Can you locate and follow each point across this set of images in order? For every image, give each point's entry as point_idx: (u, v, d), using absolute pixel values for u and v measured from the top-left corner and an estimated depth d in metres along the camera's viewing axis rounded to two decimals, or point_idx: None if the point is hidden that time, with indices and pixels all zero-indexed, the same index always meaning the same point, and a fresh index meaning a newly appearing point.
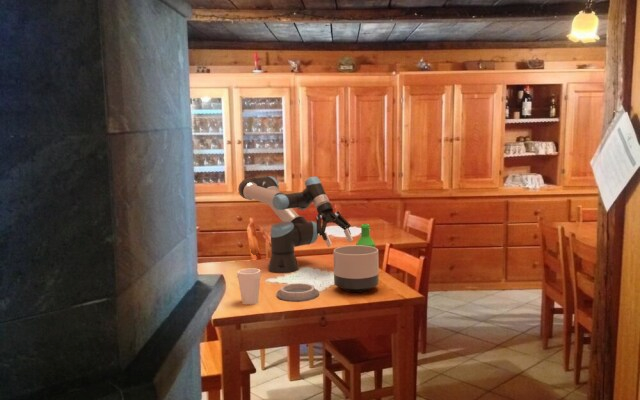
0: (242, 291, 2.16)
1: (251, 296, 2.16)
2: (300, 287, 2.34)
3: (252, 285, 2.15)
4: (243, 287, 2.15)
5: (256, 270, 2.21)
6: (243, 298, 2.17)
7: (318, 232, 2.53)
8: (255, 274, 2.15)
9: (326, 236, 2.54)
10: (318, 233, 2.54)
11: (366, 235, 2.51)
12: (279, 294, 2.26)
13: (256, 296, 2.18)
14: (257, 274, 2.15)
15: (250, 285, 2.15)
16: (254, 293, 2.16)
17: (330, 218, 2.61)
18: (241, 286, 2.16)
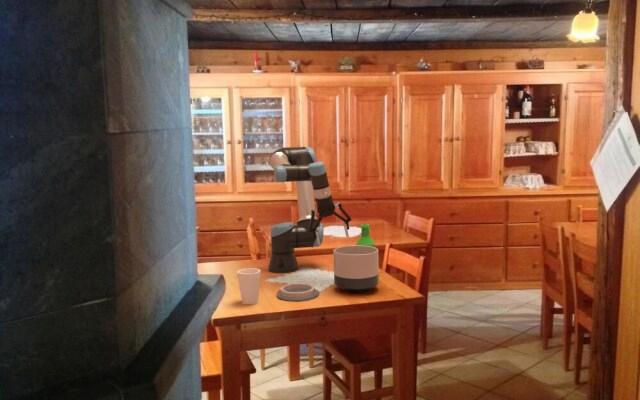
0: (242, 291, 2.16)
1: (251, 296, 2.16)
2: (300, 287, 2.34)
3: (252, 285, 2.15)
4: (243, 287, 2.15)
5: (256, 270, 2.21)
6: (243, 298, 2.17)
7: (308, 231, 2.42)
8: (255, 274, 2.15)
9: (316, 235, 2.43)
10: (309, 231, 2.43)
11: (366, 235, 2.51)
12: (279, 294, 2.26)
13: (256, 296, 2.18)
14: (257, 274, 2.15)
15: (250, 285, 2.15)
16: (254, 293, 2.16)
17: (327, 213, 2.41)
18: (241, 286, 2.16)
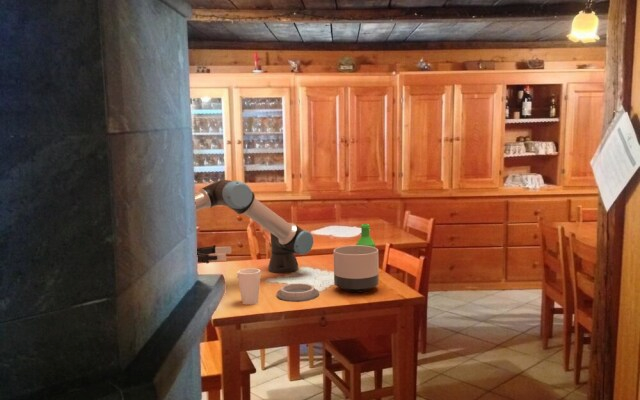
0: (242, 291, 2.16)
1: (251, 296, 2.16)
2: (300, 287, 2.34)
3: (252, 285, 2.15)
4: (243, 287, 2.15)
5: (256, 270, 2.21)
6: (243, 298, 2.17)
7: None
8: (255, 274, 2.15)
9: None
10: None
11: (366, 235, 2.51)
12: (279, 294, 2.26)
13: (256, 296, 2.18)
14: (257, 274, 2.15)
15: (250, 285, 2.15)
16: (254, 293, 2.16)
17: None
18: (241, 286, 2.16)
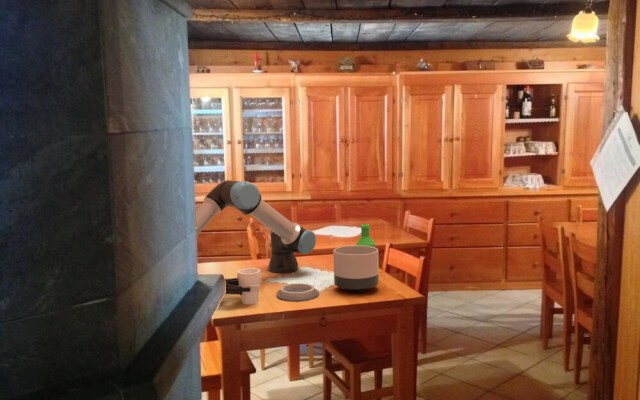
0: None
1: (251, 296, 2.16)
2: (300, 287, 2.34)
3: None
4: None
5: (256, 270, 2.21)
6: (243, 298, 2.17)
7: None
8: (255, 274, 2.15)
9: None
10: None
11: (366, 235, 2.51)
12: (279, 294, 2.26)
13: (256, 296, 2.18)
14: (257, 274, 2.15)
15: None
16: (254, 293, 2.16)
17: None
18: None
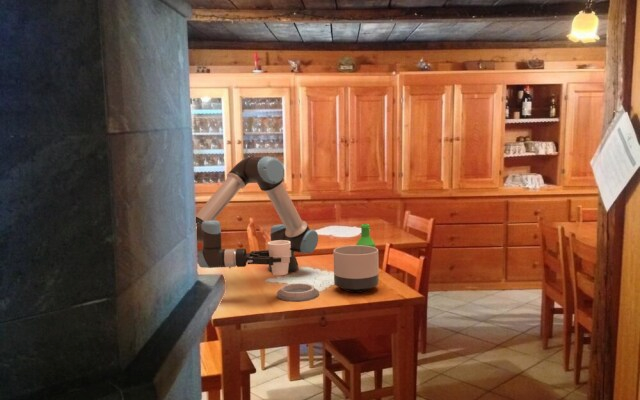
0: None
1: (281, 267, 2.19)
2: (300, 287, 2.34)
3: None
4: None
5: (286, 242, 2.24)
6: (273, 269, 2.20)
7: None
8: (285, 245, 2.18)
9: None
10: None
11: (366, 235, 2.51)
12: (279, 294, 2.26)
13: (286, 267, 2.21)
14: (287, 245, 2.18)
15: None
16: (284, 264, 2.20)
17: None
18: None
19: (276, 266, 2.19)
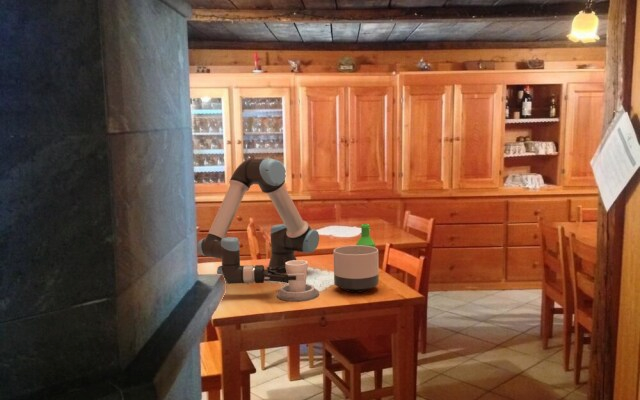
0: (290, 282, 2.24)
1: (299, 287, 2.24)
2: None
3: None
4: None
5: (303, 262, 2.29)
6: (291, 289, 2.25)
7: None
8: (303, 265, 2.23)
9: None
10: None
11: (366, 235, 2.51)
12: (279, 294, 2.26)
13: (304, 287, 2.26)
14: (304, 266, 2.23)
15: None
16: (302, 284, 2.25)
17: None
18: None
19: (294, 286, 2.24)
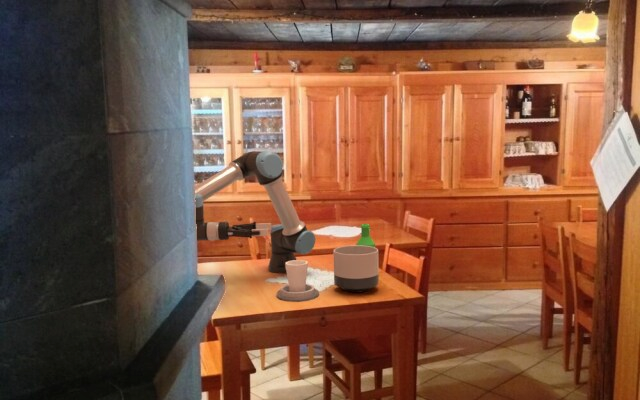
0: (290, 282, 2.24)
1: (299, 287, 2.24)
2: None
3: (300, 276, 2.23)
4: (291, 278, 2.24)
5: (303, 262, 2.29)
6: (291, 289, 2.25)
7: None
8: (303, 265, 2.23)
9: (260, 228, 2.31)
10: None
11: (366, 235, 2.51)
12: (279, 294, 2.26)
13: (304, 287, 2.26)
14: (305, 266, 2.23)
15: (298, 276, 2.23)
16: (302, 284, 2.25)
17: None
18: (289, 277, 2.24)
19: (294, 286, 2.24)
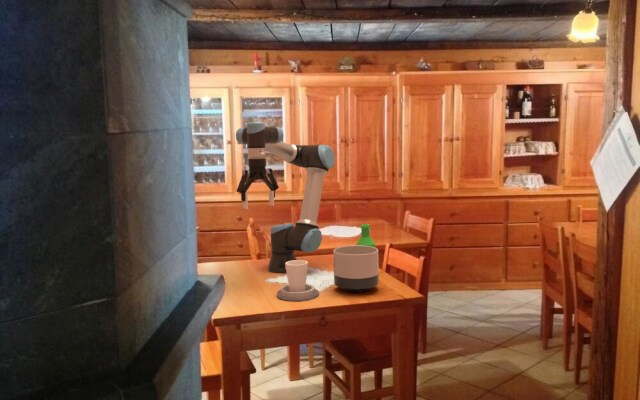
0: (290, 282, 2.24)
1: (299, 287, 2.24)
2: None
3: (300, 276, 2.23)
4: (291, 278, 2.24)
5: (303, 262, 2.29)
6: (291, 289, 2.25)
7: (238, 191, 2.26)
8: (303, 265, 2.23)
9: (245, 198, 2.28)
10: None
11: (366, 235, 2.51)
12: (279, 294, 2.26)
13: (304, 287, 2.26)
14: (305, 266, 2.23)
15: (298, 276, 2.23)
16: (302, 284, 2.25)
17: (258, 176, 2.31)
18: (289, 277, 2.24)
19: (294, 286, 2.24)
